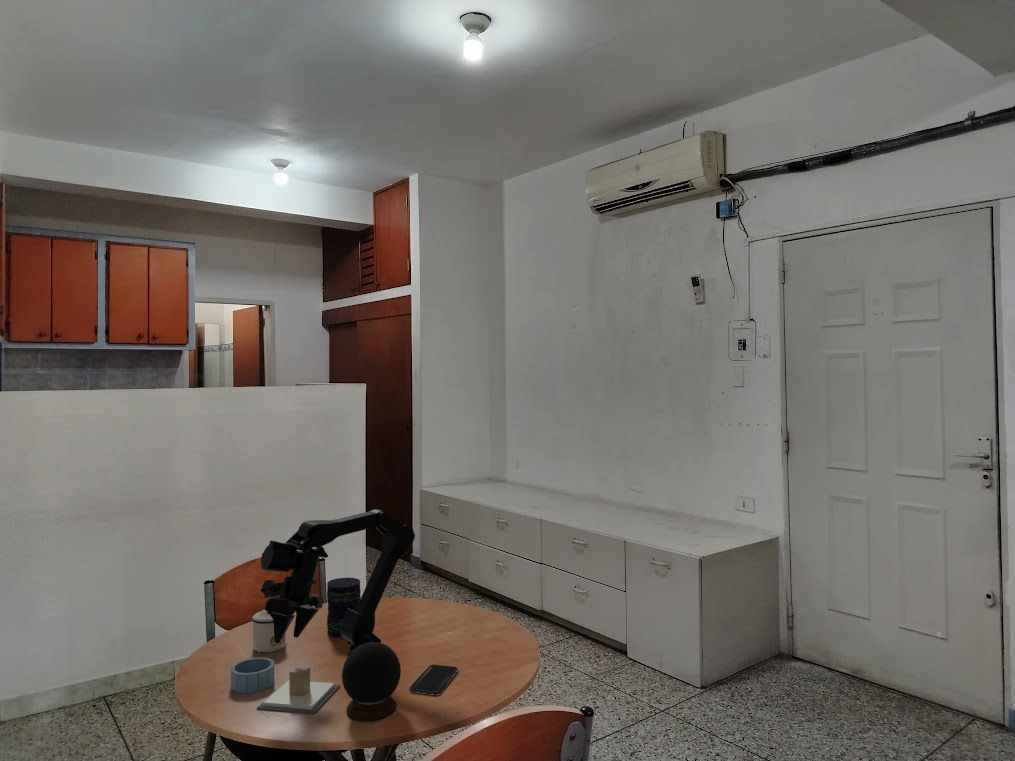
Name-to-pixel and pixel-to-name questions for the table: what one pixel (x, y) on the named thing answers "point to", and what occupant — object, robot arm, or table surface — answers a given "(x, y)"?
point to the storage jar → (341, 602)
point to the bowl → (252, 675)
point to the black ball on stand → (371, 681)
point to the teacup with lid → (265, 633)
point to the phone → (433, 679)
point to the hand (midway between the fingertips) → (286, 639)
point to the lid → (299, 691)
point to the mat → (301, 709)
